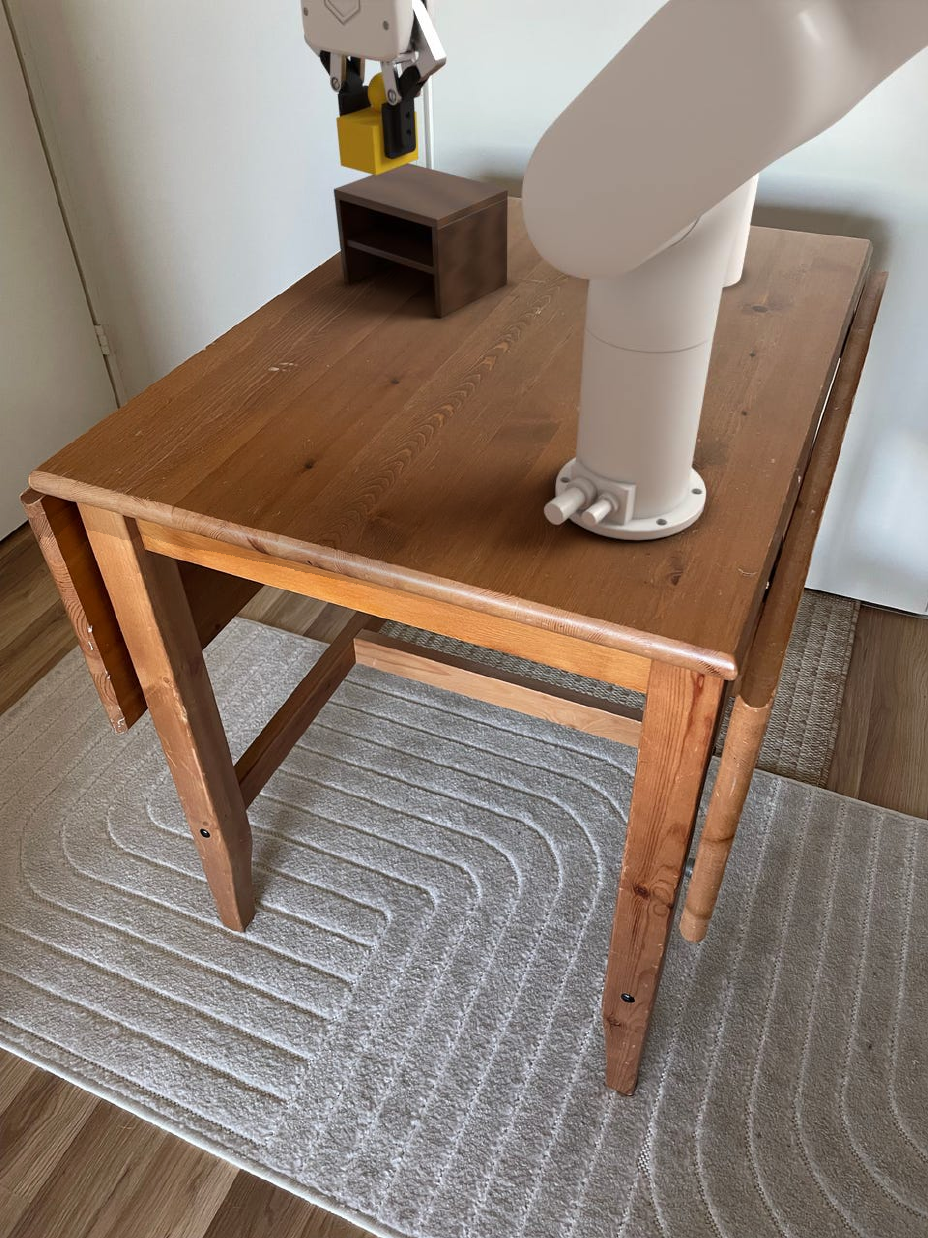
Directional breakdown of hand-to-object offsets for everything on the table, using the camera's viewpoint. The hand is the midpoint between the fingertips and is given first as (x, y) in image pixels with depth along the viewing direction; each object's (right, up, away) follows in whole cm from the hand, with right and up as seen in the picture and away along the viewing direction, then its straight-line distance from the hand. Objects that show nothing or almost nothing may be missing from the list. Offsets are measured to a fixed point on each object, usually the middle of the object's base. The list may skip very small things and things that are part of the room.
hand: (379, 146), depth 76 cm
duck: (0, -1, +1) cm, 1 cm away
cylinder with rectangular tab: (+36, +3, +37) cm, 52 cm away
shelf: (+2, +2, +37) cm, 37 cm away
